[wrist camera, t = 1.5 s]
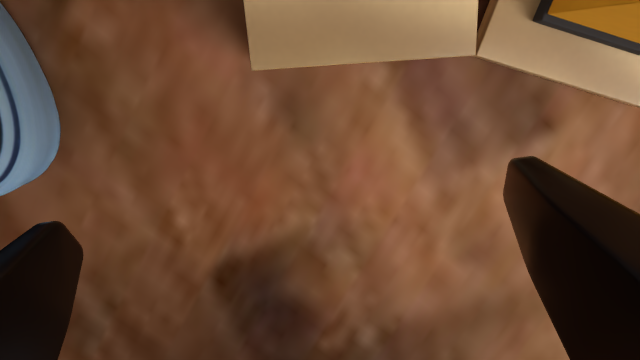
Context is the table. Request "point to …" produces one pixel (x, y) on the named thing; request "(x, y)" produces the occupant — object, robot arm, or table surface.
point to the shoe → (23, 111)
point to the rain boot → (595, 20)
